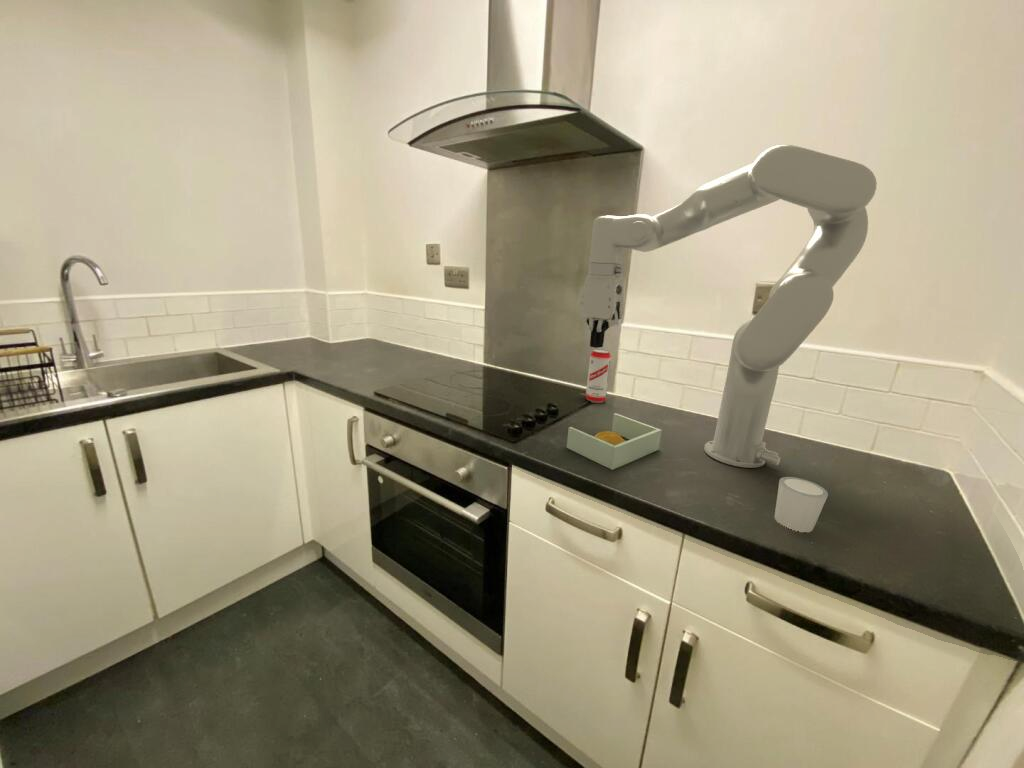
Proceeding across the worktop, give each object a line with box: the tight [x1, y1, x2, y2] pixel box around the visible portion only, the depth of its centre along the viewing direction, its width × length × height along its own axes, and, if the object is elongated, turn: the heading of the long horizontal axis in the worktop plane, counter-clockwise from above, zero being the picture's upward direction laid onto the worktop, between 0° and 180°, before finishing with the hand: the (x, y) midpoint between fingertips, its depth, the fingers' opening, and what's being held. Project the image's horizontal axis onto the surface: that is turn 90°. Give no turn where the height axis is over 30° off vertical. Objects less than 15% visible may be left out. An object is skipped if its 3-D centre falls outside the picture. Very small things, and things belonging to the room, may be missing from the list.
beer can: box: [585, 348, 612, 404], centre depth 129 cm, size 6×6×16 cm
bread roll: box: [594, 430, 626, 446], centre depth 96 cm, size 8×9×4 cm
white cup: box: [774, 476, 829, 533], centre depth 71 cm, size 7×7×7 cm
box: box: [566, 412, 662, 471], centre depth 96 cm, size 13×18×5 cm
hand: (596, 346), depth 105 cm, fingers closed
